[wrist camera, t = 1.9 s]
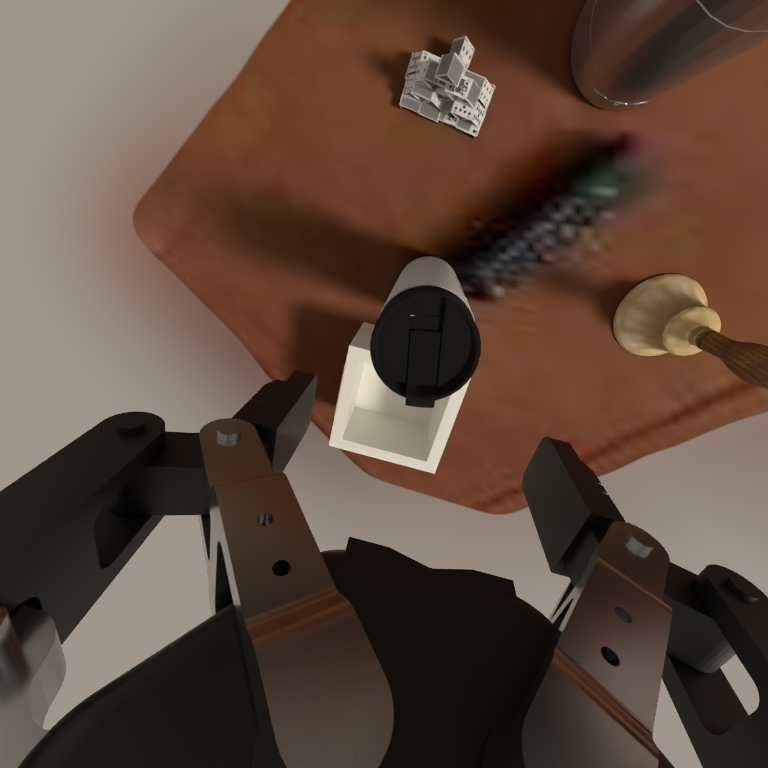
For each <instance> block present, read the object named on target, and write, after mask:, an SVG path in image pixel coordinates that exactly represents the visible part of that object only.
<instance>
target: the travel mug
mask: <svg viewBox="0 0 768 768" xmlns="http://www.w3.org/2000/svg"><path fill="white" fill-rule="evenodd" d="M480 354H481V341H480V335H479V331H478V328H477V326H476V323H475V319H474V316H473V314H472V311H471V309H470V306H469V304H468V302H467V299H466V297H465V295H464V292H463V290H462V288H461V285H460V283H459V281H458V279H457V276H456V274H455V272H454V270H453V269H452V267H451V266H450V265H449V264H448V263H447V262H445V261H444V260H442V259H440V258H437V257H432V256H425V257H420V258H417V259H415V260H413V261H411V262H410V263H409V264H408V265H407V266H406V267H405V268H404V269H403V271H402V272H401V274H400V276H399V278H398V280H397V281H396V283H395V285H394V287H393V289H392V291H391V293H390V295H389V297H388V299H387V301H386V303H385V304H384V306H383V308H382V310H381V312H380V314H379V317H378V320H377V322H376V324H375V326H374V329H373V332H372V335H371V341H370V355H371V360H372V364H373V367H374V369H375V371H376V373H377V375H378V376H379V378H380V379H381V380H382V382H383V383H384V384H385V385H386V386H387V387H388V388H389V389H390V390H391V391H393V392H395V393H396V394H398V395H400V396H402V397H404V398H406V401H405V405H407V406H412V407H422V408H434V404H435V400H439V399H443V398H445V397H448V396H450V395H452V394H453V393H455V392H457V391H458V390H460V389H461V388H462V387H463V386H464V385H465V384H466V383H467V382H468V381H469V379H470V378H471V377H472V375H473V374H474V372H475V370H476V367H477V365H478V362H479V358H480Z"/></svg>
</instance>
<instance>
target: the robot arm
mask: <svg viewBox="0 0 768 768" xmlns="http://www.w3.org/2000/svg"><path fill="white" fill-rule="evenodd" d="M767 40H768V0H587V1H586V3H585V5H584V7H583V9H582V11H581V12H580V15H579V18H578V20H577V23H576V26H575V29H574V33H573V38H572V43H571V68H572V74H573V77H574V80H575V82H576V85H577V87H578V89H579V91H580V92H581V93H582V95H583V96H584V97H585V99H587V100H588V101H589V102H591V103H592V104H593V105H594V106H597V107H599V108H602V109H604V110H610V111H624V110H631V109H633V108H636V107H639V106H642V105H644V104H646V103H648V102H650V101H652V100H654V99H656V98H658V97H660V96H661V95H663V94H665V93H667V92H669V91H671V90H673V89H675V88H677V87H679V86H681V85H683V84H685V83H687V82H689V81H691V80H693V79H695V78H696V77H698V76H700V75H702V74H704V73H706V72H708V71H710V70H712V69H714V68H716V67H718V66H719V65H721V64H723V63H725V62H727V61H729V60H731V59H733V58H735V57H737V56H739V55H741V54H742V53H744V52H746V51H748V50H750V49H752V48H754V47H756V46H758V45H760V44H762V43H763V42H765V41H767ZM317 380H318V377H317V375H313V374H309V373H305V372H302V371H298V370H296V371H295V372H294V373H293V374H292V375H291V376H290V377H289V378H288V380H287V381H286V382H285V381H281V380H275V381H272V382H270V383H267V384H265V385H264V386H263V387H262V388H261V389H260V390H259V391H258V393H256V394H255V395H254V396H253V397H252V399H251V400H249V401H248V402H247V403H246V404H245V405H244V406H243V407H242V408H241V409H240V410H239V411H238V412H237V413H236V414H235V415H234V416H233V417H232V418H227V419H219V420H215V421H212V422H210V423H208V424H206V425H205V426H204V427H203V428H202V429H201V430H200V433H181V432H165V422H164V420H163V419H162V418H161V417H159V416H157V415H154V414H152V413H146V412H127V413H122V414H117V415H114V416H112V417H109V418H107V419H105V420H103V421H102V422H100V423H99V424H97V425H96V426H95V427H93V428H92V429H90V430H89V431H87V432H86V433H84V434H83V435H81V436H80V437H79V438H77V439H76V440H74V441H73V442H71V443H70V444H68V445H67V446H66V447H64V448H63V449H61V450H60V451H58V452H57V453H55V454H54V455H53V456H51V457H50V458H48V459H47V460H45V461H44V462H42V463H41V464H39V465H38V466H37V467H35V468H34V469H32V470H31V471H29V472H28V473H26V474H25V475H23V476H22V477H21V478H19V479H18V480H16V481H15V482H13V483H12V484H11V485H9V486H8V487H6V488H5V489H3V490H2V491H0V768H674V766H673V765H672V764H671V763H670V762H669V760H668V759H667V758H666V757H665V756H664V754H663V753H662V752H661V751H660V750H659V749H658V747H657V746H656V745H655V743H654V741H653V727H654V721H655V715H656V709H657V703H658V697H659V691H660V685H661V679H663V682H664V684H665V686H666V688H667V690H668V692H669V695H670V697H671V699H672V701H673V703H674V706H675V708H676V710H677V712H678V714H679V717H680V719H681V721H682V723H683V725H684V727H685V730H686V732H687V734H688V736H689V738H690V741H691V743H692V745H693V747H694V749H695V751H696V754H697V756H698V758H699V760H700V762H701V765H702V767H703V768H768V597H767V596H766V595H765V594H764V593H763V592H762V591H761V590H759V589H758V588H757V587H756V586H755V585H753V584H752V583H751V582H749V581H748V580H747V579H745V578H744V577H742V576H741V575H739V574H737V573H735V572H734V571H732V570H729V569H727V568H725V567H722V566H719V565H708V566H707V567H706V568H705V569H704V570H703V571H702V572H701V573H700V574H699V575H696V574H694V573H692V572H690V571H688V570H686V569H684V568H681V567H679V566H677V565H675V564H673V563H671V562H670V558H669V555H668V553H667V552H666V550H665V548H664V547H663V546H662V545H661V544H660V543H659V542H658V541H657V540H656V539H655V538H654V537H653V536H651V535H650V534H649V533H647V532H646V531H644V530H643V529H641V528H639V527H637V526H635V525H632V524H630V523H627V522H625V520H624V518H623V517H622V515H621V514H620V512H619V511H618V509H617V508H616V506H615V504H614V503H613V501H612V500H611V498H610V497H609V495H607V492H606V490H605V489H604V487H603V486H601V483H600V481H599V479H598V478H597V476H596V475H595V473H594V472H593V471H592V470H591V469H590V468H589V467H588V466H587V465H586V464H585V463H583V462H582V461H581V460H580V459H579V457H578V456H577V454H576V452H575V451H574V449H573V448H572V446H571V444H570V443H568V442H564V441H560V440H557V439H553V438H549V437H545V438H543V439H542V440H541V442H540V444H539V446H538V448H537V450H536V451H535V453H534V455H533V457H532V459H531V461H530V463H529V465H528V467H527V469H526V471H525V473H524V476H523V484H522V485H523V491H524V494H525V497H526V500H527V503H528V506H529V509H530V511H531V514H532V517H533V520H534V523H535V526H536V529H537V532H538V535H539V538H540V541H541V544H542V547H543V550H544V552H545V556H546V558H547V561H548V564H549V567H550V570H551V572H552V573H556V574H559V575H564V576H567V577H569V578H570V580H571V581H570V583H569V584H568V585H567V587H566V588H565V590H564V592H563V593H562V595H561V597H560V599H559V601H558V603H557V604H556V606H555V608H554V610H553V612H552V614H551V615H550V617H549V619H547V618H546V617H545V616H544V615H543V614H542V613H541V612H539V611H538V610H537V609H535V608H534V607H533V606H531V605H530V604H528V603H527V602H525V601H524V600H522V599H520V598H518V597H517V596H516V592H515V587H514V583H513V580H509V579H505V578H501V577H498V576H494V575H490V574H487V573H483V572H479V571H476V570H463V569H432V568H429V567H427V566H425V565H423V564H421V563H419V562H417V561H415V560H413V559H411V558H409V557H407V556H405V555H403V554H401V553H399V552H397V551H395V550H393V549H391V548H389V547H386V546H382V545H378V544H375V543H371V542H367V541H363V540H359V539H356V538H352V537H349V539H348V544H347V547H346V550H329V551H324V552H320V550H319V548H318V546H317V544H316V541H315V539H314V537H313V535H312V532H311V530H310V528H309V525H308V523H307V521H306V519H305V516H304V514H303V512H302V510H301V507H300V505H299V503H298V501H297V498H296V496H295V494H294V492H293V489H292V487H291V485H290V483H289V480H288V478H287V476H286V475H285V474H284V473H283V471H284V469H285V467H286V465H287V464H288V462H289V460H290V459H291V457H292V455H293V453H294V452H295V450H296V448H297V446H298V445H299V443H300V441H301V440H302V437H303V436H304V434H305V433H306V431H307V429H308V426H309V423H310V420H311V416H312V411H313V405H314V399H315V393H316V387H317ZM165 515H199V522H200V528H201V533H202V540H203V547H204V553H205V558H206V565H207V571H208V581H209V597H210V607H211V614H212V617H210V618H209V619H207V620H206V621H204V622H203V623H201V624H200V625H198V626H197V627H195V628H193V629H192V630H190V631H189V632H187V633H186V634H184V635H183V636H181V637H180V638H178V639H177V640H175V641H174V642H172V643H170V644H169V645H167V646H166V647H164V648H163V649H161V650H160V651H158V652H157V653H155V654H154V655H152V656H150V657H149V658H147V659H146V660H144V661H143V662H141V663H140V664H138V665H137V666H135V667H134V668H132V669H131V670H129V671H127V672H126V673H125V674H123V675H122V676H120V677H118V678H117V679H115V680H114V681H112V682H110V683H109V684H107V685H106V686H105V687H103V688H101V689H100V690H98V691H97V692H95V693H94V694H92V695H91V696H90V697H88V698H86V699H85V700H84V701H82V702H81V703H80V704H78V705H77V706H76V707H75V708H73V709H72V710H71V711H70V712H69V713H67V714H66V715H65V716H64V717H63V718H62V719H61V720H60V721H59V722H58V723H57V724H56V725H55V726H53V727H52V728H51V730H49V731H48V730H45V729H43V728H42V727H43V723H44V720H45V716H46V714H47V711H48V709H49V707H50V705H51V703H52V702H53V700H54V698H55V696H56V695H57V693H58V691H59V689H60V688H61V685H62V683H63V680H64V677H65V673H66V661H65V657H64V653H63V650H62V646H61V645H62V644H63V642H64V641H65V640H66V639H67V637H68V636H69V635H70V634H71V632H72V631H73V630H74V628H75V627H76V626H77V625H78V624H79V622H80V621H81V620H82V619H83V617H84V616H85V615H86V614H87V612H88V611H89V609H90V608H91V607H92V606H93V605H94V603H95V602H96V601H97V600H98V598H99V597H100V596H101V595H102V593H103V592H104V591H105V590H106V588H107V587H108V586H109V585H110V583H111V582H112V581H113V580H114V578H115V577H116V576H117V575H118V573H119V572H120V571H121V569H122V568H123V567H124V566H125V564H126V563H127V562H128V561H129V560H130V558H131V557H132V556H133V554H134V553H135V552H136V551H137V549H138V548H139V547H140V546H141V544H142V543H143V542H144V541H145V539H146V538H147V537H148V536H149V534H150V533H151V532H152V531H153V529H154V528H155V527H156V526H157V524H158V523H159V522H160V521H161V519H162V518H163V517H164V516H165ZM735 654H736V655H737V656H738V658H739V659H740V661H741V662H742V664H743V665H744V667H745V669H746V670H747V671H748V673H749V675H750V676H751V678H752V679H753V681H754V682H755V684H756V686H757V689H758V692H759V700H760V702H759V706H758V708H757V710H756V711H755V712H753V713H752V714H750V715H748V714H747V712H746V710H745V709H744V707H743V705H742V704H741V702H740V700H739V699H738V697H737V695H736V694H735V692H734V690H733V689H732V687H731V685H730V684H729V682H728V680H727V679H726V677H725V675H724V674H723V672H722V670H721V669H720V667H721V666H722V665H723V664H724V663H726V662H727V661H728V660H729V659H731V658H732V657H733V656H734V655H735Z"/></svg>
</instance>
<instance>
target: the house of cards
mask: <svg viewBox="0 0 768 768" xmlns="http://www.w3.org/2000/svg"><path fill="white" fill-rule="evenodd" d="M474 50H475V49H474V47H473V46H472V44H471V42H470V41H469V39H468V38H467V36H463V37H461V38H458V39H455V40H454V41H453V44H452V47H451V50H450V53H449V54H446V55H443V54H442V56H441V58H440V57H438V56H436V55H433V54H431V53H429V52H426V51H424V50H423V51H421V52H418V53H414V52H413V53H412V56H411V59H410V62H409V66H408V69H407V72H406V75H405V79H406V81H405V85H404V89H403V92H402V97H401V100H400V104H399V105H401V109H402V106H403V107H405V108H408V109H410V110H412V111H415V112H417V113H419V114H420V115H422V116H424V117H427V118H429V119H431V120H434V121H436V123H438V120H439V121H441V122H444V123H446V124H448V125H451V126H453V127H455V128H456V129H459V130H461V131H463V132H466V133H468V134H470V135H473V136H476V137H477V135H478V132H479V130H480V127H481V125H482V122H483V120H484V117H485V115H486V113H487V111H488V110H487V108H488V105H489V103H490V100H491V98H492V94H493V91H494V89H495V85H492V84H490V83H489V82H488V81H487V79H486V77H482V76H480V75H478V74H475V73H473V72H471V71H469V70H467V69H468V66H469V64H470V61H471V58H472V56H473V53H474ZM421 104H422V105H421ZM420 107H421V108H420Z"/></svg>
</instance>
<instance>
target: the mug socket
mask: <svg viewBox="0 0 768 768" xmlns="http://www.w3.org/2000/svg"><path fill="white" fill-rule="evenodd" d="M374 326H375V325H374V324H370V323H366V322H364V323H363V324H362V326H361V327H360V329H359V331H358V332H357V334H356V335H355V337H354V339H353V340H352V342H351V343H350V345H349V349H348V354H347V359H346V363H345V364H344V369H343V374H342V379H341V384H340V388H339V393H338V398H337V403H336V408H335V413H334V416H335V418H334V423H333V428H332V433H331V438H330V443H329V446H333V447H336V448H340V449H344V450H348V451H351V452H355V453H359V454H363V455H366V456H370V457H374V458H378V459H381V460H385V461H389V462H393V463H396V464H400V465H404V466H408V467H411V468H415V469H419V470H423V471H426V472H430V473H434V474H435V471H436V469H437V466H438V463H439V461H440V458H441V456H442V453H443V450H444V448H445V445H446V442H447V440H448V437H449V434H450V432H451V429H452V427H453V424H454V421H455V419H456V416H457V413H458V411H459V408H460V405H461V403H462V400H463V398H464V395H465V392H466V390H467V387H468V384H469V382H470V379H471V378H470V379H469V381H468V382H467V383H466V384H465V385H464V386H463V387H462V388H461V389H460V390H458V391H457V392H455V393H453V394H452V395H450V396H448V397H445V398H443V399H439V400H435V404H434V408H422V407H412V406H407V405H405V401H406V398H404V397H402V396H400V395H398V394H396V393H395V392H393V391H391V390H390V389H389V388H388V387H387V386H386V385H385V384H384V383H383V382H382V380H381V379H380V378H379V376H378V375H377V373H376V371H375V369H374V367H373V364H372V360H371V355H370V341H371V335H372V332H373V329H374Z"/></svg>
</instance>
